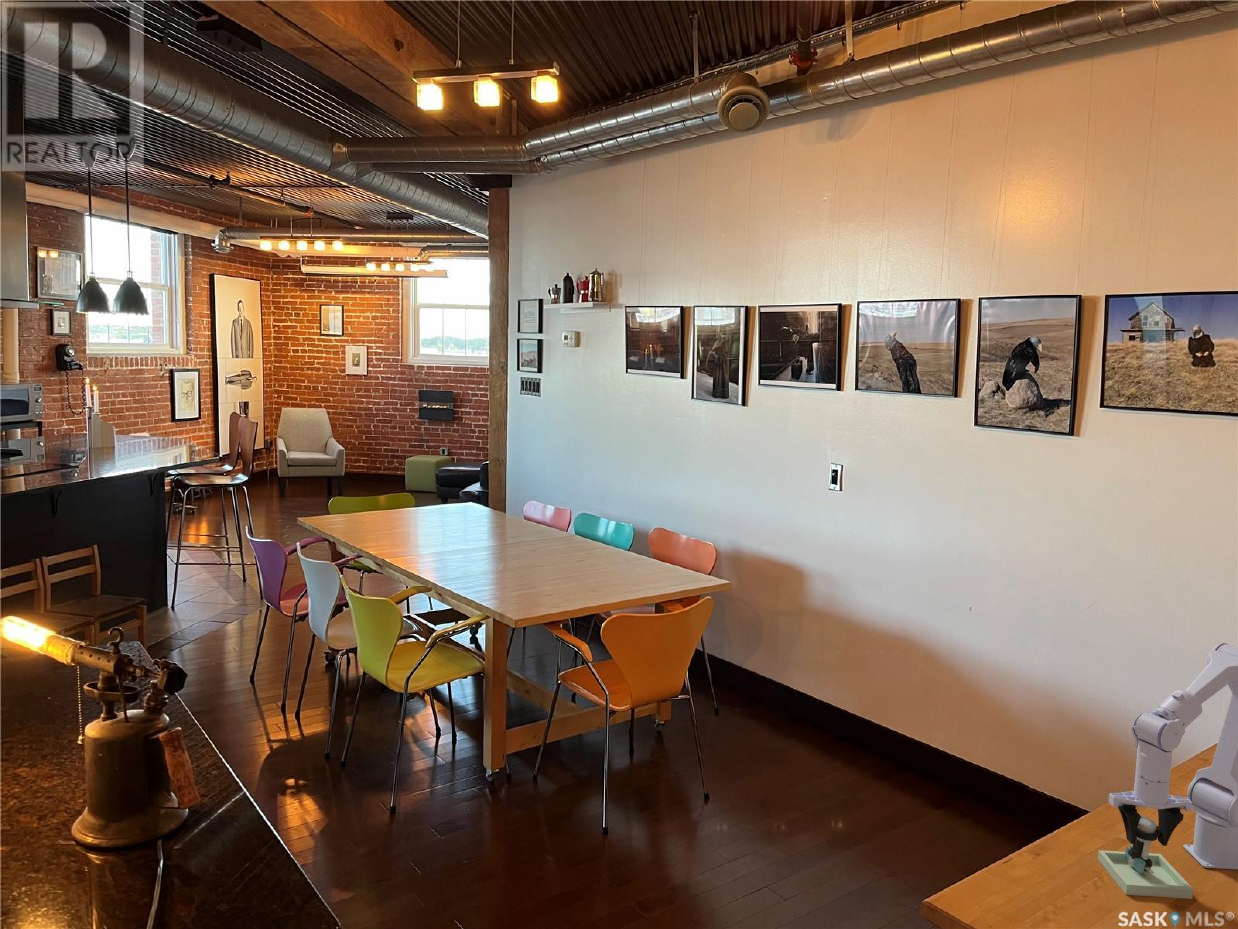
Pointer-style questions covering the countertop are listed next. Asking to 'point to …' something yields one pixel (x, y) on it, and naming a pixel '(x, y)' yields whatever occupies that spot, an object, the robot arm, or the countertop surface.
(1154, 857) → the tray
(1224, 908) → the countertop surface
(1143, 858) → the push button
